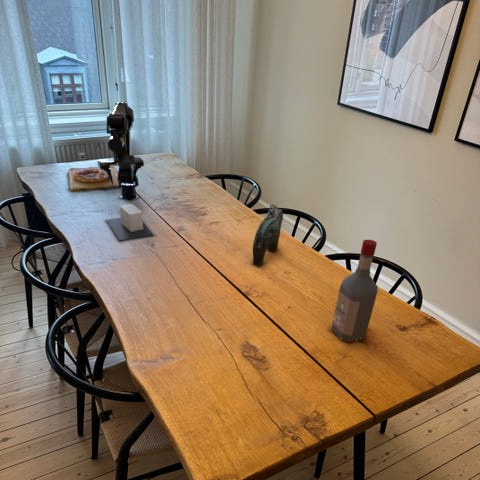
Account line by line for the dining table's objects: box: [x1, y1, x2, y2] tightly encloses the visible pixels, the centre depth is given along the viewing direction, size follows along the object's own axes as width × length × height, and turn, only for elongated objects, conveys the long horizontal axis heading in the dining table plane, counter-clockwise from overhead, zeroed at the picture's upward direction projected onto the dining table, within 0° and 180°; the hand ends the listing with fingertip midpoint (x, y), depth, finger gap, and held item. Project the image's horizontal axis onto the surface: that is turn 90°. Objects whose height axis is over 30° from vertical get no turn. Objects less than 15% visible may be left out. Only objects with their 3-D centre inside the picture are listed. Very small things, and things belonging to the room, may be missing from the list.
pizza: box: [67, 166, 120, 193], centre depth 237 cm, size 35×28×4 cm
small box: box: [119, 203, 144, 232], centre depth 189 cm, size 8×6×10 cm
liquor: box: [331, 239, 379, 344], centre depth 128 cm, size 9×9×30 cm
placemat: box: [106, 217, 154, 242], centre depth 190 cm, size 22×14×1 cm, turn 27°
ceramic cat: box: [252, 204, 284, 267], centre depth 170 cm, size 20×6×20 cm, turn 154°
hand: (122, 182), depth 198 cm, fingers open, 9 cm apart
